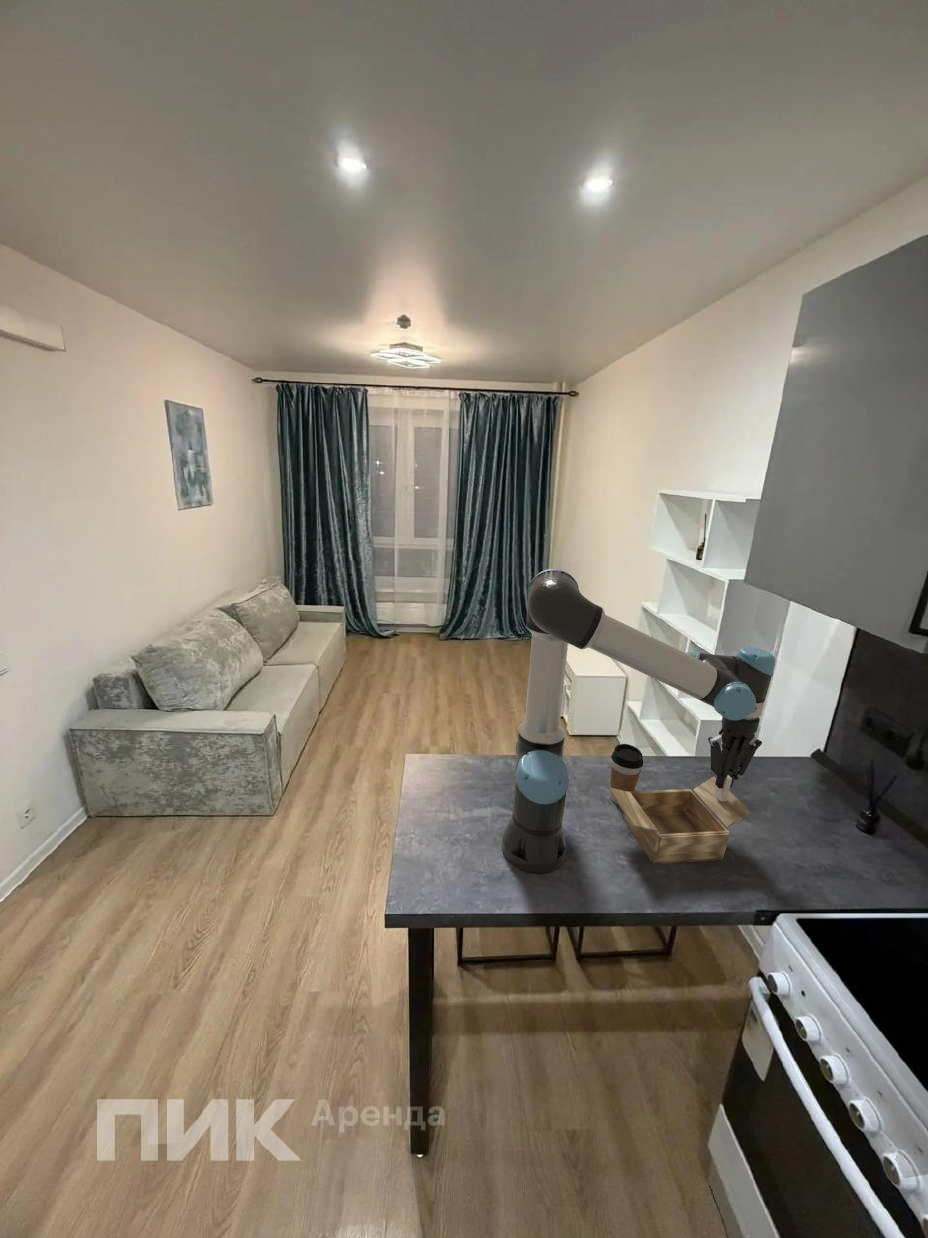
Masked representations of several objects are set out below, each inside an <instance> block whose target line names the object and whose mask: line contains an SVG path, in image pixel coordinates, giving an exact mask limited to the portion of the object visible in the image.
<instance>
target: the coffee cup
mask: <svg viewBox="0 0 928 1238" xmlns="http://www.w3.org/2000/svg"><path fill="white" fill-rule="evenodd" d="M610 758H611V759H612V760H611V761H612V762H611V765H610V767H611V768H610V783H609V787H611V788H615V789H619V790H623V791H627V792H630V791H636V786H637V783H638V781H639V777H640V774H641V768H642V767H643V766H644V759H643V753H642V752H641V750H640V749H639V748H637V747H636V746H635V745H632V744H628V743H620V744H617V745H616V746H615V747H614V750H613V752H612V753H611V756H610ZM609 798H610V800H611V801H612V802H613V803H615V804H617V805H619V804H618V803H617V801H616V800H615V798H614V797H613V795H612V794H611V792H610V791H609Z"/></svg>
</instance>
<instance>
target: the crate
mask: <svg viewBox="0 0 928 1238" xmlns="http://www.w3.org/2000/svg"><path fill="white" fill-rule="evenodd" d="M630 793H631V794H632V795H633V797H634V798H635V800H636V801H637V802H638V804H639V805H640V806H641V808H642V809H643V811H644V812H645V813H646V815H647V816H648V818H649V819H650V820H651V822H652V823H653V824H654V826H655V827H656V829H657V830H658V831H657V832H655V831H651V830H647V829H642V828H638V827H634V826H633V825H632V824H631V822H630V821H629V819H628V818H627V816H626V815H625V813H624V812H623V816H622V819H623V821H624V822H625V823H626V825H627V827H628V829H629V830H630V831H631V833H632V834H633V836H634V838H635V839H636V841H637V842H638V844H639V845H640V847H641V848H642V850H643V851H644V853H645V855H646V856H647V858H648V859H649V861H650V863H652V865H665V864H680V863H681V864H683V863H695V862H696V863H697V862H710V861H711V862H713V861H723V860H724V857H725V852H726V849H727V845H728V843H729V839H730V834H731V831H730V830H728V827H727V826H726V825H725V824H724V823H723V822H722V821H721V820H720V819H719V818H718V817H717V815H716V814H715V813H714V812H713V811H712V810H711V809H710V808H709V807H708V806H707V805H706V803H705V802H704V801H703V800H702V799H701V798H700V797H699V796H698V795H697V794H696V793H695V791H694V790H692V789H689V788H681V789H680V788H679V789H677V788H676V789H660V790H658V789H657V790H656V789H655V790H638V791H637V790H634V791H630Z"/></svg>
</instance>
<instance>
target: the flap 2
mask: <svg viewBox="0 0 928 1238" xmlns="http://www.w3.org/2000/svg"><path fill="white" fill-rule="evenodd" d="M716 778H717V776H715V775H713V776H711V777H710V778H708V779H707V780H706V781H704V782H702V783H701V784H700V785H699V784H698V786H697V787H695V788H693V790H692V791H693V792H694V793H695V794H696V795H697V797H698V798H699V799H700V800H701V801H702V802H703V803H704V804H705V805H706V806H707V808H708V809H709V810H710V811H711V812H712V813H713V814H714V815H715V816H716V817H717V818H718V820H719V821H720V822H721V823H722V824H723V825H724V826H725V827H726V828H729V827H731V826H733V825H734V824H736V823H738V822H739V821H741V820H742V819H743V818H745V817H746V816H748V815H749V814H751V813H752V812H751V811H752V810H750V809H749V808H748V807H747V806H746V805H744V804H743V803H742V801H740V800H739V799H738V797H736V796H735V795H734V794H733V793H732V792H731V791H730V790H729V793H728V797H727V801H725V802H721V801H720V800H719V799H718V798H717V797H716V796H715V795H714V794H715V791H716V787H717V786H716V785H715V782H716Z"/></svg>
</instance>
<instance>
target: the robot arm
mask: <svg viewBox="0 0 928 1238" xmlns="http://www.w3.org/2000/svg"><path fill="white" fill-rule="evenodd" d="M528 584H529V585H528V588H527V598H528V599H527V609H526V610H527V611H526V622H525V623H526V624H525V627H526V629H527V630H528V631H529V633H531V640H530V642H531V644H530V654H529V655H530V657H529V668H528V669H529V670H528V678H527V679H528V680H527V681H528V682H527V693H526V703H525V715H524V716H525V718H524V721H523V722H521V724H519V726H518V729H517V740H516V743H515V754H516V755H515V756H516V757H515V782H514V791H513V793H514V795H513V804H512V811H511V812H512V814H511V817H510V819H509V821H508V823H507V825H506V827H505V829H504V831H503V833H502V837H501V838H502V840H501V849H502V853H503V855H504V857H505V858H506V859H507V860H508V861H509V862H510V863H511V865H513V866H515V867H516V868H518V869H519V870H522V871H524V872H525V871H526V872H527V873H534V874H546V873H551V872H553V871H556V870H557V869H559V868H560V867H561V866H562V865H563V863H564V862H565V860H566V854H567V853H566V852H567V842H566V839H565V835H564V830H563V819H564V812H565V807H566V806H565V805H566V798H567V791H568V789H569V784H570V783H569V782H570V778H569V777H570V776H569V769H568V766H567V764H566V763H565V761H564V760H563V759H564V748H565V738H566V733H565V730H564V728H563V727H562V726H561V714H562V707H563V706H562V705H563V704H562V703H563V696H564V695H563V694H564V686H565V675H566V667H567V666H566V665H567V659H568V658H567V656H568V649H569V648H568V647H569V645H571V646H573V647H575V648H577V649H579V650H581V651H583V650H585V649H588V648H589V649H591V650H594V651H596V652H597V653H600V654H602V655H604V656H605V657H608V658H610V659H612V660H614V661H616V662H619V663H621V664H622V665H625V666H627V667H628V668H631V669H633V670H635V671H637V672H639V673H641V674H644V675H646V676H648V677H650V678H652V679H655V680H656V681H658V682H661V683H662V684H665V685H667V686H669V687H671V688H673V689H675V690H677V691H678V692H679V691H680V692H682V693H684V694H686V695H688V696H690V697H692V698H693V699H696V700H699V701H700V702H702V703H705V704H706V705H708V706H710V707H712V708H713V709H714V711H716V712H717V713H718V714H719V715H720V716H721V717H722V718H721V729H720V730H719V732H718V735H716V736H715V737H712V736H709V737H708V738H707V741H708V744H709V746H710V771H711V772H713V774H715V775H716V782H715V785H716V786H717V787H716V791H715V794H714V795H715V796H716V797H717V798H718V799H719V800H720V801H721V802H725V801H727V797H728V793H729V791H730V789H732V787H733V785H734V782H735V781H737V780H739V776H740V777H741V776H744V774H745V772H746V771H747V768H748V766H749V765H750V763H751V761H752V759H753V757H754V755H755V753H756V752H757V751H758V749H759V748H760V747H761V746H762V744H763V742H762V740H760V739H759V738H757V737H756V733H757V732H758V729H759V725H760V722H761V719H760V717H761V716H762V713H763V710H764V706H765V702H766V698H767V694H768V690H769V687H770V684H771V681H772V677H773V676H774V669H775V668H774V667H775V665H776V664H775V663H776V658H775V656H774V655H773V654H772V653H771V652H770V651H768V650H765V649H761V648H759V647H758V648H757V647H751V646H747V647H741V648H740V649H739V650H738V652H737V653H736V656H735V655H732V656H730V655H723V654H722V655H721V654H713V653H712V654H711V653H703V652H701V651H699V652H694V651H693V652H690V651H688V652H684V651H682V650H680V649H678V648H675V647H674V646H671V645H670V644H667V643H666V642H663V641H661V640H659V639H657V638H654V636H650V635H649V634H647V633H644V632H642V631H640V630H638V629H637V628H634V627H632V626H630V625H628V624H626V623H623V622H622V621H619V620H617V619H615V618H613V617H611V616H609V615H607V614H606V612H605V609H604V608H603V607H601V606H600V605H598V604H596V603H593V602H592V601H591V600H589V598H587V597H585V596H584V595H583V594H582V593H581V591H580V588H579V583H578V582H577V580H576V579H575V577H573V575H571V574H569V572H567V571H565V570H562V569H558V568H549V569H548V568H547V569H544V570H542V571H540V572H538V573H537V574H536V575H535V576H534V577H533V578H532V580H531V581H530V583H528Z"/></svg>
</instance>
